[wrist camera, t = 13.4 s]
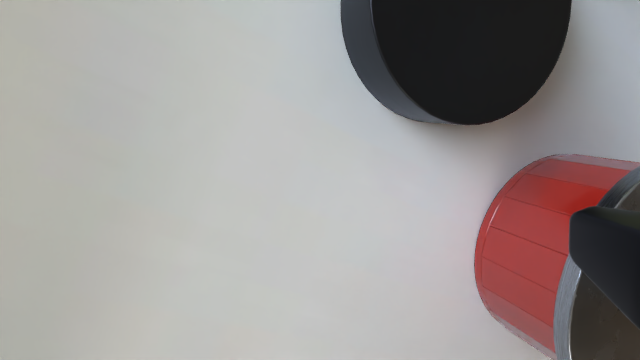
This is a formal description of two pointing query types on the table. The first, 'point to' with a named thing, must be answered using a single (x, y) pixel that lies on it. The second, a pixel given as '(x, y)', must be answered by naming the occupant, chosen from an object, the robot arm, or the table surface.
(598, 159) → the red faceted pot
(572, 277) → the lid
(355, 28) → the stand
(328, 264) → the table surface
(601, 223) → the robot arm
